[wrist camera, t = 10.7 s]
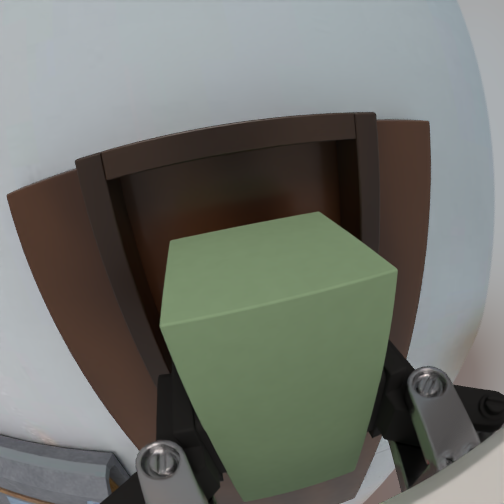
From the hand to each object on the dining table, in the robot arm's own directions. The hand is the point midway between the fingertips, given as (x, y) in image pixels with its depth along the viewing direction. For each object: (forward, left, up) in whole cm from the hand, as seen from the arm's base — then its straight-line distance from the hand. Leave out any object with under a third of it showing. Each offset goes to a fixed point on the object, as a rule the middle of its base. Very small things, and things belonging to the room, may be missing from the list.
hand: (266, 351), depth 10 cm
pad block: (0, 0, 0) cm, 0 cm away
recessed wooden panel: (0, +12, -3) cm, 12 cm away
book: (+22, +15, -3) cm, 27 cm away
